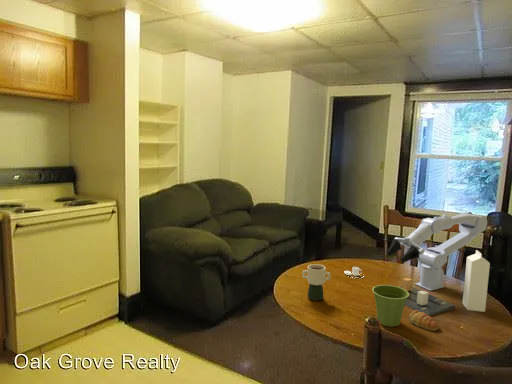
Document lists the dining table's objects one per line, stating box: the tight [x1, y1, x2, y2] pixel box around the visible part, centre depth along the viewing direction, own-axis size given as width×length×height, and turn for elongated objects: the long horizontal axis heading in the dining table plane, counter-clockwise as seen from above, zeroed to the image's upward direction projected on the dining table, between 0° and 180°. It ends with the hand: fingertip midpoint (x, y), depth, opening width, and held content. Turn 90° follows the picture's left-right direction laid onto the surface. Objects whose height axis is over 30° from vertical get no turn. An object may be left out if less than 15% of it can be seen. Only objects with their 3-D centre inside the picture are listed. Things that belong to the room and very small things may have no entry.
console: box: [399, 285, 456, 317], centre depth 143 cm, size 15×22×1 cm
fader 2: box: [417, 290, 429, 305], centre depth 136 cm, size 3×2×4 cm
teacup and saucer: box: [343, 266, 365, 279], centre depth 170 cm, size 9×8×4 cm
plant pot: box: [372, 284, 409, 328], centre depth 124 cm, size 12×12×11 cm
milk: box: [462, 249, 491, 313], centre depth 136 cm, size 6×6×22 cm
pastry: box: [408, 309, 440, 331], centre depth 123 cm, size 9×7×4 cm
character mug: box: [301, 263, 331, 301], centre depth 142 cm, size 11×7×13 cm, turn 77°
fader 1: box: [401, 277, 413, 291], centre depth 150 cm, size 3×2×4 cm
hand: (394, 257), depth 149 cm, fingers open, 7 cm apart
